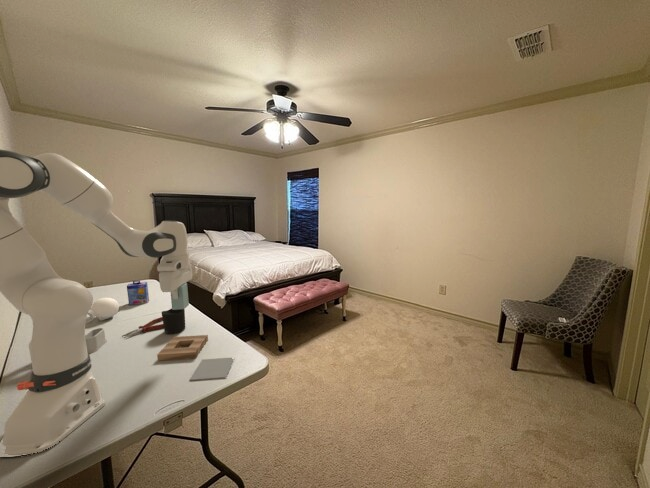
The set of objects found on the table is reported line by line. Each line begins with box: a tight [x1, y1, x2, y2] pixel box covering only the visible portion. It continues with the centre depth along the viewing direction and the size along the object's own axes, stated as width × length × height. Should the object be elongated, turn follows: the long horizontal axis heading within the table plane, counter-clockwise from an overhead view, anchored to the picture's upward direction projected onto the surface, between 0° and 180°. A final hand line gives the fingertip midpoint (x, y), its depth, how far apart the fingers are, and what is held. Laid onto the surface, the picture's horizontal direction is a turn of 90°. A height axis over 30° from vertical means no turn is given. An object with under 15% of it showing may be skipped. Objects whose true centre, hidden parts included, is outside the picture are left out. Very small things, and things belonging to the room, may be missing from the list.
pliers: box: [121, 316, 164, 339], centre depth 127 cm, size 12×20×3 cm, turn 148°
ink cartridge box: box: [126, 280, 150, 306], centre depth 164 cm, size 10×6×14 cm, turn 115°
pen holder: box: [161, 307, 186, 335], centre depth 126 cm, size 9×9×10 cm
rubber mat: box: [189, 357, 234, 382], centre depth 95 cm, size 12×12×1 cm
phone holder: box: [85, 310, 108, 354], centre depth 109 cm, size 17×10×18 cm, turn 106°
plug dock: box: [156, 334, 209, 362], centre depth 108 cm, size 14×14×2 cm
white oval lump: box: [90, 297, 120, 321], centre depth 142 cm, size 12×12×15 cm
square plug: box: [170, 283, 190, 310], centre depth 106 cm, size 4×4×9 cm
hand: (179, 296), depth 105 cm, fingers closed on square plug, 4 cm apart
